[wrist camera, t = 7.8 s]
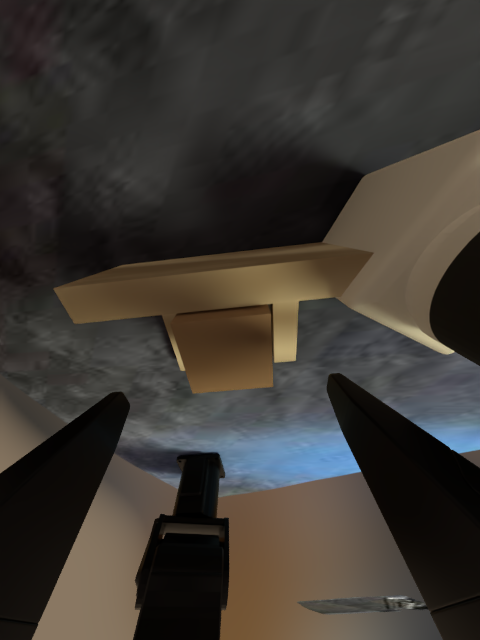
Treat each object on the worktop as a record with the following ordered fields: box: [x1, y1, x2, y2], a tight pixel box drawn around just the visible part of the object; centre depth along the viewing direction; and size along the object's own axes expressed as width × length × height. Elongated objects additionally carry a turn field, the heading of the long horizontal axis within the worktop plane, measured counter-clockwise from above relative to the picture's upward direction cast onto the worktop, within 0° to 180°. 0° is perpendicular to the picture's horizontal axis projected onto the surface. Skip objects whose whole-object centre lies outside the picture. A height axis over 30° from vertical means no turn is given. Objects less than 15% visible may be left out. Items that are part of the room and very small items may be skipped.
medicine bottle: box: [322, 130, 480, 366], centre depth 9 cm, size 7×7×12 cm
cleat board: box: [53, 242, 374, 371], centre depth 13 cm, size 10×16×6 cm, turn 96°
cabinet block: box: [170, 304, 273, 393], centre depth 13 cm, size 6×5×6 cm
